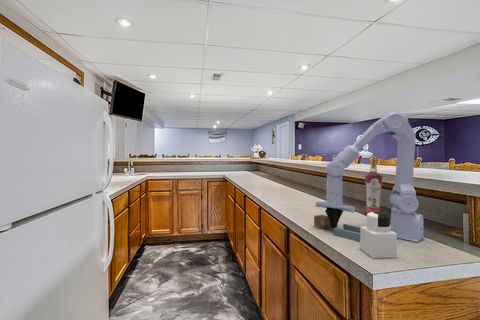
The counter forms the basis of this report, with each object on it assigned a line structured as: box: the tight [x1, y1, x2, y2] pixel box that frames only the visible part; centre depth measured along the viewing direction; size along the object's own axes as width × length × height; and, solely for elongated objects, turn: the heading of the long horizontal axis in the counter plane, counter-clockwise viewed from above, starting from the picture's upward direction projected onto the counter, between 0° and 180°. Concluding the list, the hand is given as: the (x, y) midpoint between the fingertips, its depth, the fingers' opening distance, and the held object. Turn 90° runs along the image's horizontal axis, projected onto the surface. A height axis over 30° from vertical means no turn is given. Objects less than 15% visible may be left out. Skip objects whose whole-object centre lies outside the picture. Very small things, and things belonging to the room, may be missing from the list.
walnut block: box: [313, 213, 332, 231], centre depth 100 cm, size 5×4×4 cm
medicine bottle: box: [359, 211, 398, 259], centre depth 74 cm, size 7×7×12 cm
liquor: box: [364, 156, 383, 215], centre depth 119 cm, size 7×7×28 cm
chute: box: [333, 223, 361, 243], centre depth 90 cm, size 10×8×2 cm
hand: (334, 228), depth 95 cm, fingers closed
